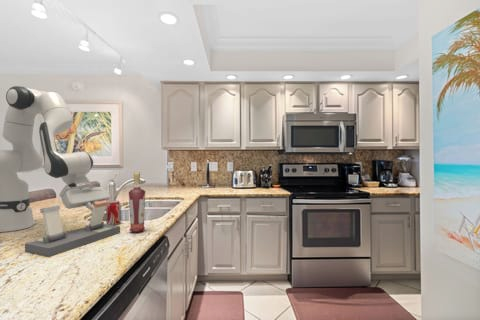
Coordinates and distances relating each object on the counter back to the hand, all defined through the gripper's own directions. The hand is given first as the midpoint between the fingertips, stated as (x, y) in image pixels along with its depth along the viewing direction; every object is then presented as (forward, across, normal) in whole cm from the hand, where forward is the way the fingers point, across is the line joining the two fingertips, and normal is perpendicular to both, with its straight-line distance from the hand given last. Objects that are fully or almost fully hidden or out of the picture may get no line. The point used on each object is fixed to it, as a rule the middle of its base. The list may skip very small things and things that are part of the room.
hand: (96, 210), depth 114 cm
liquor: (+17, -12, +1) cm, 20 cm away
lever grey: (+5, +17, -6) cm, 19 cm away
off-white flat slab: (+5, 0, -6) cm, 8 cm away
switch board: (+8, +8, -8) cm, 14 cm away
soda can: (+1, -18, -15) cm, 23 cm away
